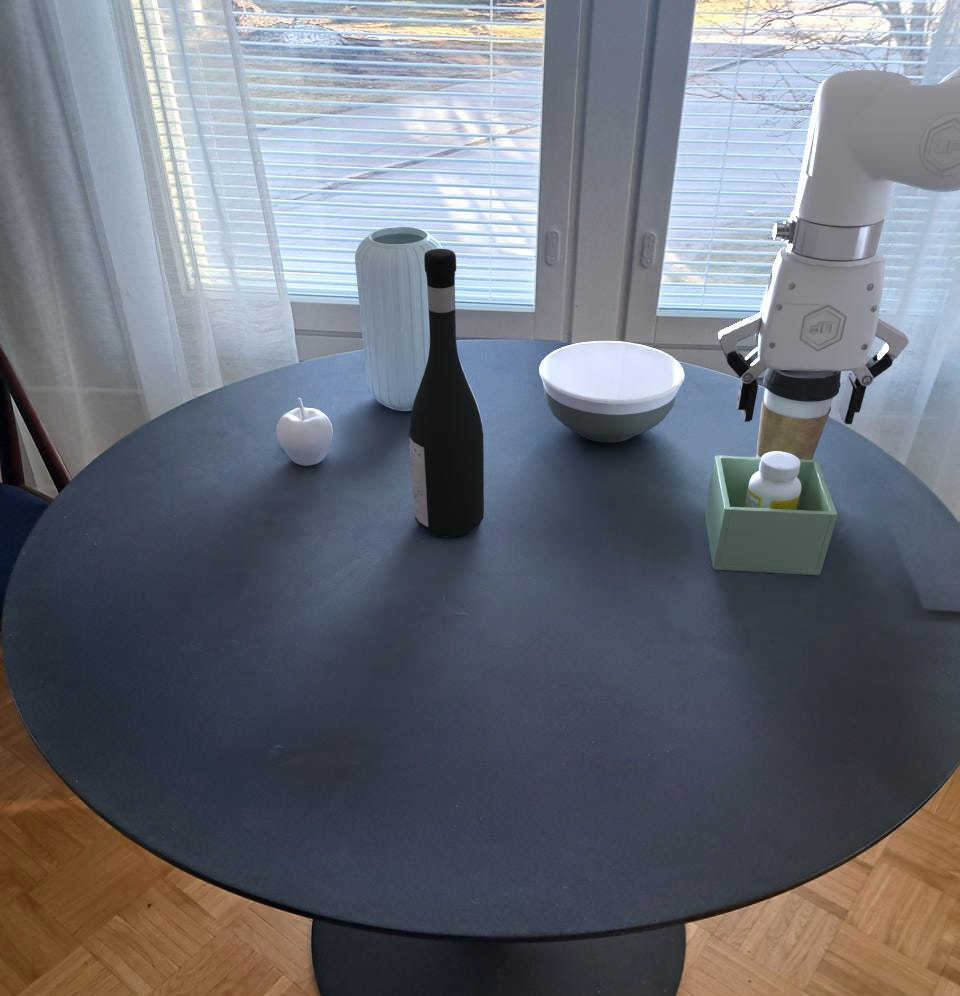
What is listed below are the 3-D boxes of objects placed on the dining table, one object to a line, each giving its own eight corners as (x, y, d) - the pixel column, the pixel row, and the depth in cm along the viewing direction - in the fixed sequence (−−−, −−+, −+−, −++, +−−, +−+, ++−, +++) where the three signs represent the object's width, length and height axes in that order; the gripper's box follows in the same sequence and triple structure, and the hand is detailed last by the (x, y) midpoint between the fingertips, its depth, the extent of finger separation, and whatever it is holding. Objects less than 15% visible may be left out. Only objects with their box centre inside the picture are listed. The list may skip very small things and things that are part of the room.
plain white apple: (332, 442, 119) (324, 384, 114) (339, 468, 114) (332, 409, 109) (278, 449, 118) (268, 391, 112) (284, 475, 112) (274, 416, 107)
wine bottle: (408, 538, 102) (388, 264, 82) (421, 501, 108) (406, 237, 88) (479, 543, 101) (476, 268, 81) (488, 506, 107) (488, 240, 87)
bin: (802, 518, 104) (818, 459, 99) (820, 575, 96) (837, 514, 91) (704, 513, 105) (714, 455, 100) (712, 569, 97) (724, 509, 92)
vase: (353, 409, 126) (336, 243, 112) (391, 376, 134) (379, 217, 120) (428, 423, 123) (419, 254, 108) (461, 389, 131) (458, 227, 116)
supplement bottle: (795, 535, 100) (815, 456, 94) (777, 558, 97) (797, 478, 91) (748, 520, 103) (765, 442, 96) (730, 542, 99) (746, 464, 93)
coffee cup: (788, 506, 106) (818, 386, 96) (729, 479, 111) (752, 362, 101) (827, 481, 110) (860, 363, 101) (768, 456, 115) (794, 341, 105)
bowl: (520, 449, 117) (521, 389, 112) (556, 389, 130) (559, 333, 125) (664, 471, 112) (672, 410, 107) (686, 406, 126) (694, 349, 121)
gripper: (738, 250, 77) (710, 432, 88) (948, 251, 76) (893, 437, 87) (729, 224, 83) (704, 398, 94) (924, 225, 81) (875, 402, 92)
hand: (795, 416), depth 90 cm, fingers open, 9 cm apart
